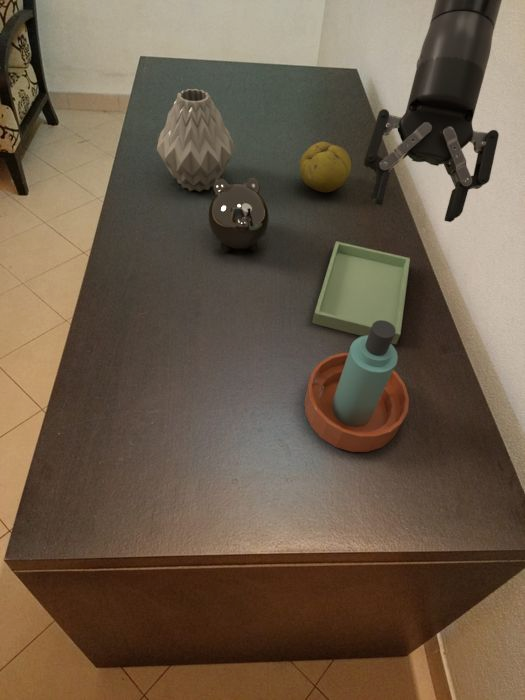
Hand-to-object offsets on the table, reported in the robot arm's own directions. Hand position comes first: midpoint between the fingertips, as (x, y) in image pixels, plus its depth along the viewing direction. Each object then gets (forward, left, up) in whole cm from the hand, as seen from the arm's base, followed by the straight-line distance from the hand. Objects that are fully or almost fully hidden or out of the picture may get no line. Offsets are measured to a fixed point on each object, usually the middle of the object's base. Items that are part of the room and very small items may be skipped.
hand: (413, 213), depth 56 cm
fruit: (+16, -46, -27) cm, 55 cm away
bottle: (0, +11, -26) cm, 29 cm away
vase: (+43, -38, -27) cm, 63 cm away
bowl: (0, +11, -27) cm, 29 cm away
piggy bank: (+28, -21, -27) cm, 44 cm away
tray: (+2, -14, -27) cm, 30 cm away
